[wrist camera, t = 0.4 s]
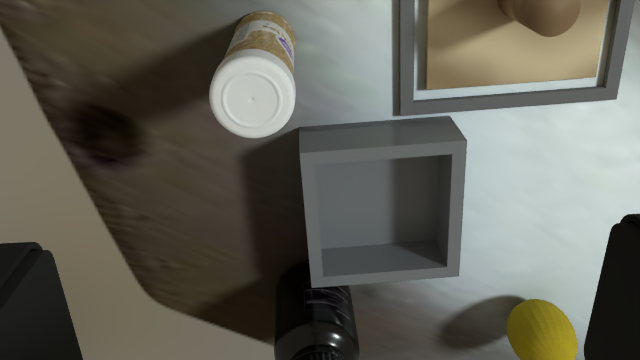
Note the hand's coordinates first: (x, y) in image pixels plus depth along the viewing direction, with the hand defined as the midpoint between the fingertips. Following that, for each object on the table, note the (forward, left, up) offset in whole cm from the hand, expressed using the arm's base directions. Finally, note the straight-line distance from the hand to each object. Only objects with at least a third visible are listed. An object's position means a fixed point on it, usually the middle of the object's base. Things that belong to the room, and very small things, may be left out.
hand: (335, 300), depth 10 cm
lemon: (+30, +19, -34) cm, 49 cm away
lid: (+1, +15, -35) cm, 38 cm away
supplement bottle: (+26, -1, -34) cm, 43 cm away
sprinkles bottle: (+3, -3, -34) cm, 34 cm away
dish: (+16, +5, -34) cm, 38 cm away
